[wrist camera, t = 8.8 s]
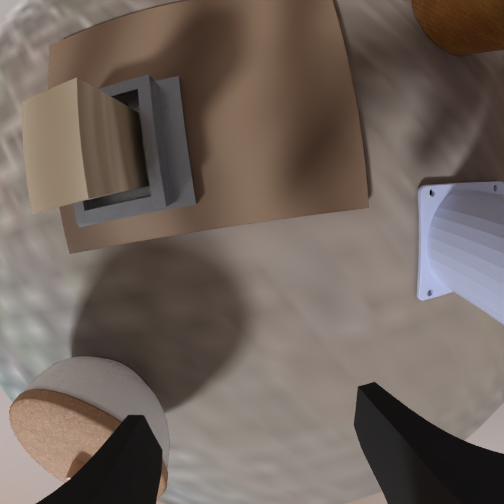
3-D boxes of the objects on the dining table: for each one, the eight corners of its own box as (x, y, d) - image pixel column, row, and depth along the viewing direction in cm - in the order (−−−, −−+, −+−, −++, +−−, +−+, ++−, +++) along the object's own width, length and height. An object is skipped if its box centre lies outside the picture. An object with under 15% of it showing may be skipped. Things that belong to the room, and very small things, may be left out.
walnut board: (326, -2, 13) (330, -7, 13) (363, 206, 17) (368, 207, 16) (55, 49, 13) (49, 45, 12) (75, 250, 17) (69, 253, 16)
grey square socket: (180, 79, 14) (171, 63, 11) (197, 203, 16) (191, 209, 13) (68, 111, 14) (45, 104, 11) (83, 225, 16) (61, 235, 13)
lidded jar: (39, 324, 18) (-31, 396, 9) (169, 333, 19) (133, 444, 9) (78, 424, 21) (44, 498, 12) (189, 438, 21) (179, 531, 12)
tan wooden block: (138, 112, 14) (76, 77, 7) (148, 186, 15) (88, 198, 8) (98, 124, 14) (21, 102, 7) (108, 195, 15) (32, 214, 8)
